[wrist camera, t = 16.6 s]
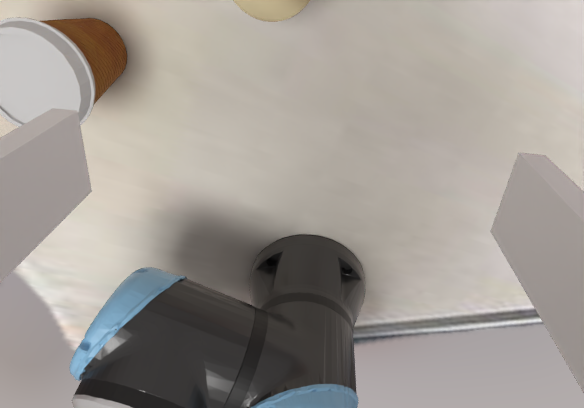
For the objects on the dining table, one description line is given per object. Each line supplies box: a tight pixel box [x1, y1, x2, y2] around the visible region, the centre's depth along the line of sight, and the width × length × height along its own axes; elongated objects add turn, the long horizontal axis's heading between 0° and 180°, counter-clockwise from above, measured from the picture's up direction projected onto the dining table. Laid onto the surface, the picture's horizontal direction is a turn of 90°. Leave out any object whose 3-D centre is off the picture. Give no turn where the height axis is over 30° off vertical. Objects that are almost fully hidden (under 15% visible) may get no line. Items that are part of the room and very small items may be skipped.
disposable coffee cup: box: [0, 17, 127, 127], centre depth 40 cm, size 10×10×12 cm
